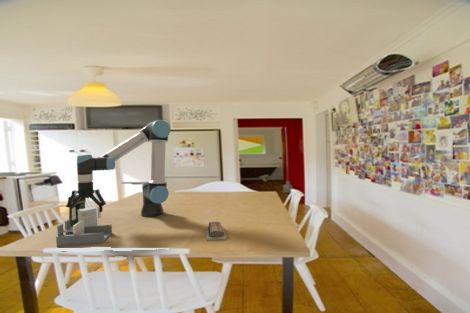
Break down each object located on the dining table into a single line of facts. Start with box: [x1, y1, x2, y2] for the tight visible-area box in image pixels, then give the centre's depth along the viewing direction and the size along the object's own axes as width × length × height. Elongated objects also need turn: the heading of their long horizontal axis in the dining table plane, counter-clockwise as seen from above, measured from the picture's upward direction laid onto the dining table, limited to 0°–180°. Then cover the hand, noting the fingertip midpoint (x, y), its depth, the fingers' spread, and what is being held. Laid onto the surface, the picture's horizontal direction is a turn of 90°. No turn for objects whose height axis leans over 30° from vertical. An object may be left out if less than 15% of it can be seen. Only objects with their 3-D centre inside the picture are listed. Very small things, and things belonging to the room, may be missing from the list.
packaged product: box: [205, 221, 227, 241], centre depth 137 cm, size 18×5×10 cm
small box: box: [78, 206, 99, 227], centre depth 148 cm, size 8×6×13 cm
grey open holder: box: [63, 220, 85, 235], centre depth 134 cm, size 9×10×8 cm
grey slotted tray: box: [55, 218, 113, 247], centre depth 135 cm, size 22×14×10 cm, turn 99°
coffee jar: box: [67, 194, 87, 227], centre depth 162 cm, size 10×8×19 cm
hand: (86, 218), depth 148 cm, fingers open, 13 cm apart
